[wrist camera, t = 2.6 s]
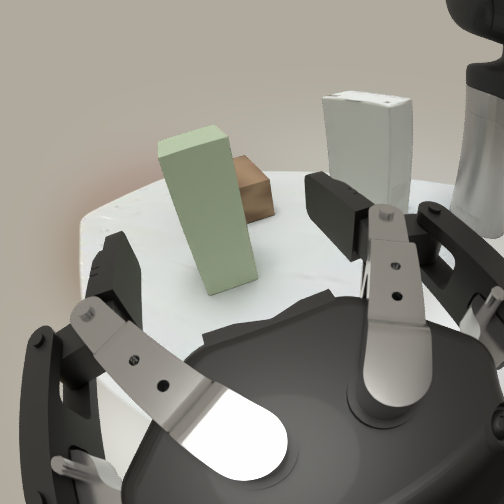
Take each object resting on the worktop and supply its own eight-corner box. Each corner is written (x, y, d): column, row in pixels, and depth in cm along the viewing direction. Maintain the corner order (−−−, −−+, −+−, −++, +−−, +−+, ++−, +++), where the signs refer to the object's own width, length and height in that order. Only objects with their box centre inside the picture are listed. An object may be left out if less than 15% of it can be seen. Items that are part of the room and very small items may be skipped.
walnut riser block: (250, 184, 42) (244, 155, 39) (274, 214, 35) (269, 179, 32) (188, 203, 41) (179, 174, 38) (197, 239, 33) (186, 204, 30)
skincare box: (406, 219, 30) (418, 99, 20) (382, 242, 28) (394, 104, 18) (354, 195, 36) (352, 87, 26) (326, 213, 33) (319, 93, 24)
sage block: (243, 249, 31) (214, 124, 22) (258, 278, 27) (228, 136, 18) (200, 263, 30) (158, 141, 21) (209, 295, 26) (158, 158, 17)
